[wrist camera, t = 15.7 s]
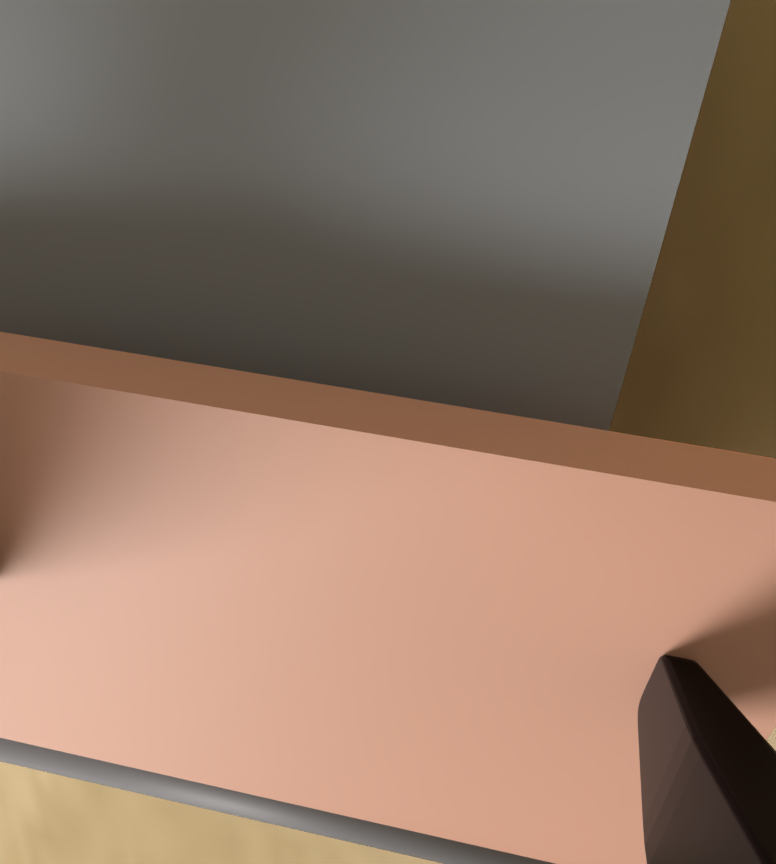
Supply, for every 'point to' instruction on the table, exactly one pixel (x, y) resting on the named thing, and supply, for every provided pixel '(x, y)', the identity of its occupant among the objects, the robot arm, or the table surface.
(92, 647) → the latch flap
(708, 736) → the robot arm
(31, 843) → the table surface
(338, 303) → the hitch block
